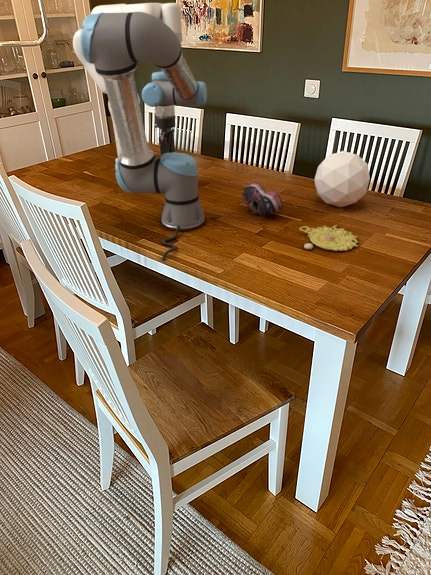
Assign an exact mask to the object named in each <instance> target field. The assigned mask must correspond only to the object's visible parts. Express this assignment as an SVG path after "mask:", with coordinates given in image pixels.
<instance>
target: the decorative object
mask: <svg viewBox="0 0 431 575" xmlns="http://www.w3.org/2000/svg"><path fill="white" fill-rule="evenodd" d="M303 228H304V229H305V230H304V229H303ZM299 231H300V232H303V233H305V234H307V237H308V238H309V240H310V241H311V243H304V244H303V248H304V249H305V250H313V249H314V245H315V246H316V247H318V248H321V249H324V250H328V251H335V252H341V251H348V250H352V249H354V247H356V248H358V247H359V245H358V244H357V243H359V240H357V238H359V237H358V235H353V234H352V231H347V230H346V229H345V228H344V227H342V228H338V224H335V225H333V226H331V227H328V226H327V225H326V224H325V225H323V226H322V227H321V226H317V227H316V228H314V227H309V226H308V225H302V226H300V227H299ZM313 244H314V245H313Z"/></svg>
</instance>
